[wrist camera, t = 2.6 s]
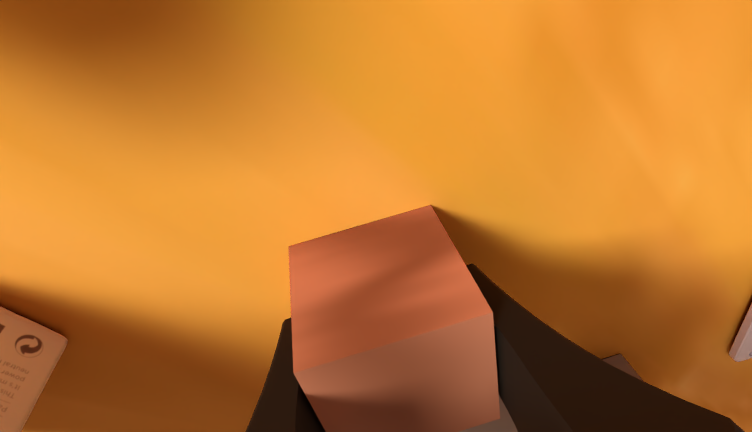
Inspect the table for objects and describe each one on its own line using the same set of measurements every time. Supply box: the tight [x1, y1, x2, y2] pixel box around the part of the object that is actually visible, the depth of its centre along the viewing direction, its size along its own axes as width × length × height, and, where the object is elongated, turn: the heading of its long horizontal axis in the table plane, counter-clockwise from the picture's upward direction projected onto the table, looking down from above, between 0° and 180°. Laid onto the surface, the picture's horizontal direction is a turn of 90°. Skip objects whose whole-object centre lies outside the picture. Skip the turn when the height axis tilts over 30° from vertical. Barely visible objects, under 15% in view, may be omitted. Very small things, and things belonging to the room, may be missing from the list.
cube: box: [289, 205, 500, 432], centre depth 12 cm, size 4×4×4 cm
